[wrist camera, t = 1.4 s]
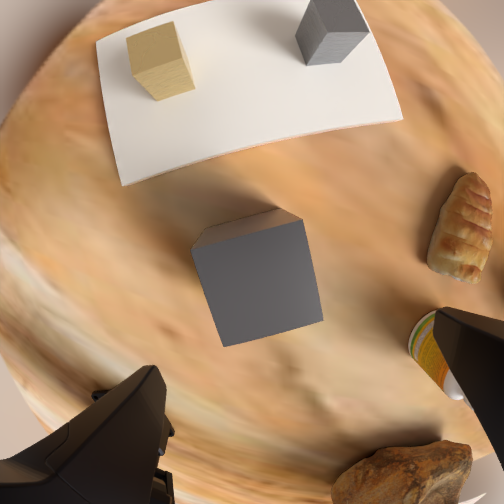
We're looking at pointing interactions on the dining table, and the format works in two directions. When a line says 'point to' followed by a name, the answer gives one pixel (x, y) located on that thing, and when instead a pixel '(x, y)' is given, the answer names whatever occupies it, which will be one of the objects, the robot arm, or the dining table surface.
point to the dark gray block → (257, 276)
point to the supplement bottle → (433, 358)
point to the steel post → (330, 31)
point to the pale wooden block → (160, 61)
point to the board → (236, 88)
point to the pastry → (463, 231)
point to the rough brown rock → (407, 476)
